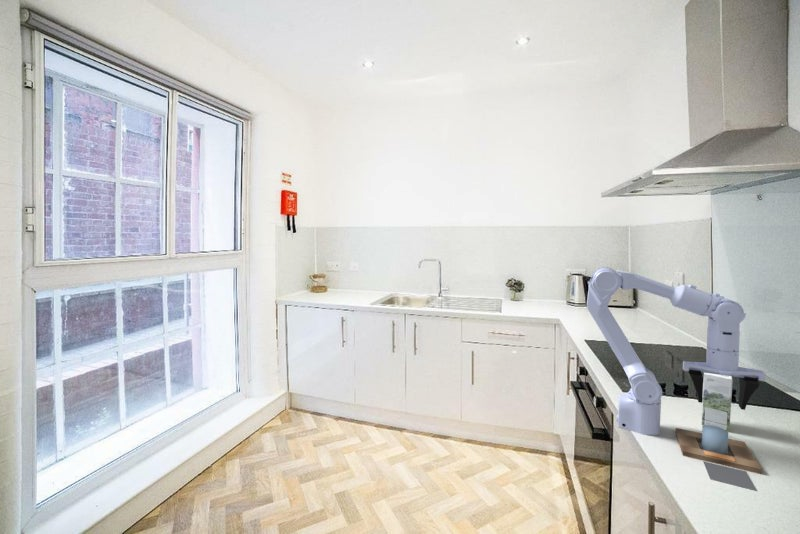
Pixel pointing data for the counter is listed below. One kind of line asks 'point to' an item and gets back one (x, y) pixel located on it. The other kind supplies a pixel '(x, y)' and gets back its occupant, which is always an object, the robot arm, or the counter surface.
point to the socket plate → (737, 449)
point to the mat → (729, 476)
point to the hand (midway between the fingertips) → (720, 404)
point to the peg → (714, 439)
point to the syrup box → (717, 400)
